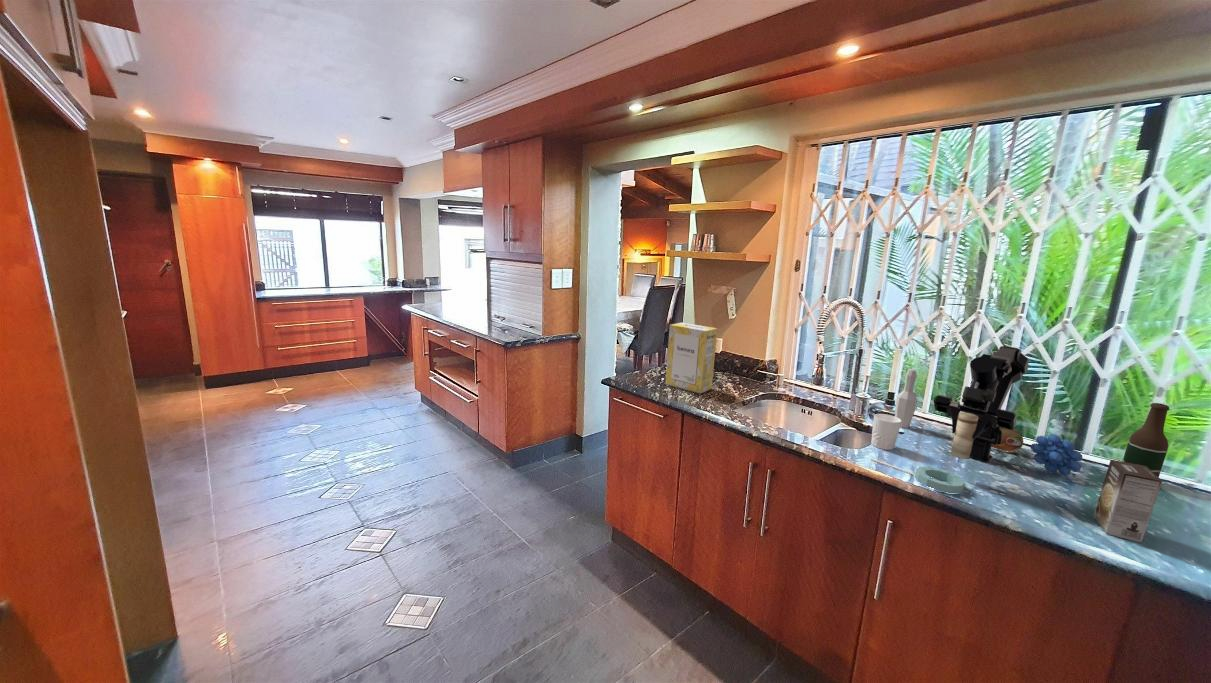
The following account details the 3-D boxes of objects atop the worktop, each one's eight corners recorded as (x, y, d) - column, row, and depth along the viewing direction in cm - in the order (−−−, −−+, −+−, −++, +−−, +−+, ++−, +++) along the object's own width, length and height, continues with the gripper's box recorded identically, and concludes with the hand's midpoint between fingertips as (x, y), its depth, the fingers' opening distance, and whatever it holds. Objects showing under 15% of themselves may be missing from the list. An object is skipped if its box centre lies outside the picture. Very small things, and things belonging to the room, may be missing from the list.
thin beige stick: (872, 459, 144) (872, 458, 144) (915, 475, 135) (916, 473, 135) (871, 460, 143) (871, 459, 143) (914, 476, 134) (915, 474, 134)
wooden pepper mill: (959, 451, 136) (968, 412, 133) (973, 458, 132) (982, 418, 129) (946, 452, 135) (954, 412, 133) (959, 459, 131) (968, 418, 128)
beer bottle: (1143, 476, 141) (1167, 402, 136) (1164, 488, 134) (1189, 410, 129) (1111, 471, 144) (1133, 398, 138) (1129, 482, 136) (1153, 406, 131)
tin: (963, 441, 162) (968, 418, 161) (965, 438, 164) (970, 416, 163) (1019, 456, 151) (1025, 432, 149) (1021, 454, 153) (1027, 430, 152)
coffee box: (1091, 516, 117) (1109, 458, 114) (1127, 524, 114) (1146, 465, 111) (1105, 534, 110) (1124, 472, 106) (1144, 544, 106) (1164, 481, 103)
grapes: (1024, 469, 142) (1033, 433, 139) (1026, 463, 146) (1035, 428, 144) (1077, 484, 134) (1088, 446, 131) (1077, 477, 138) (1088, 440, 136)
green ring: (922, 470, 138) (924, 463, 137) (967, 486, 130) (969, 478, 129) (909, 481, 131) (911, 473, 131) (956, 498, 123) (958, 490, 122)
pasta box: (665, 384, 213) (669, 324, 207) (677, 379, 221) (681, 322, 215) (700, 393, 201) (706, 331, 195) (711, 388, 209) (717, 328, 203)
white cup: (900, 452, 150) (905, 423, 148) (874, 449, 152) (879, 420, 150) (890, 442, 158) (895, 415, 156) (865, 439, 159) (870, 412, 157)
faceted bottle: (891, 426, 173) (902, 369, 169) (892, 421, 178) (902, 366, 174) (911, 430, 170) (922, 373, 165) (911, 425, 175) (922, 369, 170)
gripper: (941, 368, 138) (922, 411, 134) (1023, 385, 124) (1004, 432, 120) (944, 389, 145) (926, 430, 140) (1022, 406, 131) (1005, 452, 126)
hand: (963, 435), depth 131 cm, fingers closed on wooden pepper mill, 4 cm apart
